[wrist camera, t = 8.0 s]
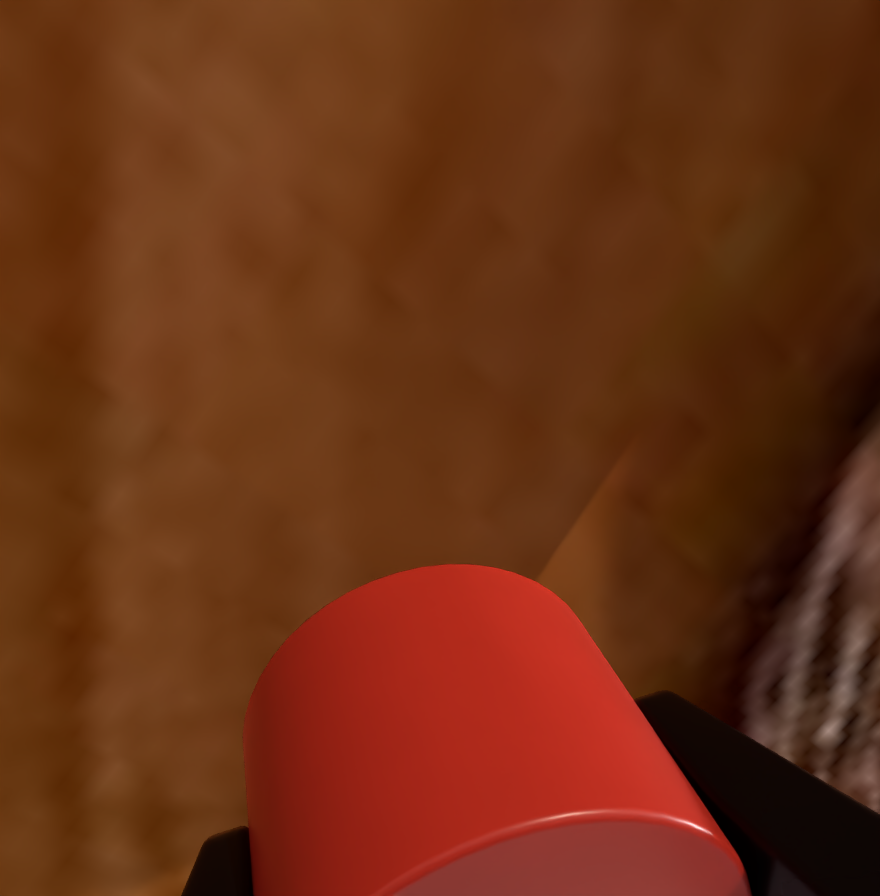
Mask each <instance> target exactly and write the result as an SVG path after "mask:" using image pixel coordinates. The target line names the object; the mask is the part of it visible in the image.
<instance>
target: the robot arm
mask: <svg viewBox="0 0 880 896" xmlns="http://www.w3.org/2000/svg"><path fill="white" fill-rule="evenodd" d="M634 702H635V703H636V705H637V706H638V707H639V709H640V710H641V712H642V713H643V715H644V716H645V718H646V719H647V721H648V722H649V724H650V725H651V727H652V728H653V730H654V731H655V733H656V734H657V736H658V737H659V739H660V740H661V742H662V743H663V745H664V746H665V748H666V749H667V750H668V752H669V753H670V755H671V756H672V758H673V759H674V761H675V762H676V764H677V765H678V767H679V768H680V770H681V771H682V773H683V774H684V776H685V777H686V779H687V780H688V782H689V783H690V785H691V786H692V788H693V789H694V790H695V792H696V793H697V795H698V796H699V798H700V799H701V801H702V802H703V804H704V805H705V807H706V808H707V810H708V811H709V813H710V814H711V816H712V817H713V819H714V820H715V822H716V823H717V825H718V826H719V828H720V829H721V831H722V832H723V833H724V835H725V836H726V838H727V839H728V841H729V842H730V844H731V845H732V847H733V848H734V850H735V851H736V853H737V854H738V856H739V858H740V860H741V862H742V864H743V866H744V868H745V870H746V872H747V876H748V880H749V884H750V888H751V893H752V896H880V814H878V813H876V812H875V811H873V810H871V809H869V808H868V807H866V806H864V805H863V804H861V803H859V802H858V801H856V800H854V799H853V798H851V797H849V796H848V795H846V794H844V793H842V792H841V791H839V790H837V789H836V788H834V787H832V786H831V785H829V784H827V783H826V782H824V781H822V780H820V779H819V778H817V777H815V776H814V775H812V774H810V773H809V772H807V771H805V770H804V769H802V768H800V767H799V766H797V765H795V764H793V763H792V762H790V761H788V760H787V759H785V758H783V757H782V756H780V755H778V754H777V753H775V752H773V751H771V750H770V749H768V748H766V747H765V746H763V745H761V744H760V743H758V742H756V741H755V740H753V739H751V738H749V737H748V736H746V735H744V734H743V733H741V732H739V731H738V730H736V729H734V728H733V727H731V726H729V725H728V724H726V723H724V722H722V721H721V720H719V719H717V718H716V717H714V716H712V715H711V714H709V713H707V712H706V711H704V710H702V709H700V708H699V707H697V706H695V705H694V704H692V703H690V702H689V701H687V700H685V699H684V698H682V697H680V696H679V695H677V694H675V693H673V692H671V691H667V690H662V691H658V692H655V693H652V694H649V695H645V696H642V697H639V698H636V699H635V700H634ZM181 896H253V884H252V869H251V854H250V840H249V828H248V827H246V826H240V827H237V828H234V829H231V830H228V831H225V832H221V833H218V834H215V835H213V836H211V837H209V838H208V839H207V840H206V841H205V842H204V843H203V845H202V847H201V850H200V852H199V854H198V857H197V859H196V862H195V864H194V866H193V869H192V871H191V874H190V876H189V878H188V881H187V883H186V886H185V888H184V890H183V893H182V895H181Z"/></svg>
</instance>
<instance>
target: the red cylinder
mask: <svg viewBox="0 0 880 896" xmlns="http://www.w3.org/2000/svg"><path fill="white" fill-rule="evenodd" d="M243 751H244V766H245V780H246V795H247V810H248V825H249V840H250V854H251V869H252V884H253V896H752V893H751V888H750V884H749V880H748V876H747V872H746V870H745V868H744V866H743V864H742V862H741V860H740V858H739V856H738V854H737V853H736V851H735V850H734V848H733V847H732V845H731V844H730V842H729V841H728V839H727V838H726V836H725V835H724V833H723V832H722V831H721V829H720V828H719V826H718V825H717V823H716V822H715V820H714V819H713V817H712V816H711V814H710V813H709V811H708V810H707V808H706V807H705V805H704V804H703V802H702V801H701V799H700V798H699V796H698V795H697V793H696V792H695V790H694V789H693V788H692V786H691V785H690V783H689V782H688V780H687V779H686V777H685V776H684V774H683V773H682V771H681V770H680V768H679V767H678V765H677V764H676V762H675V761H674V759H673V758H672V756H671V755H670V753H669V752H668V750H667V749H666V748H665V746H664V745H663V743H662V742H661V740H660V739H659V737H658V736H657V734H656V733H655V731H654V730H653V728H652V727H651V725H650V724H649V722H648V721H647V719H646V718H645V716H644V715H643V713H642V712H641V710H640V709H639V707H638V706H637V705H636V703H635V702H634V700H633V699H632V697H631V696H630V694H629V693H628V691H627V690H626V688H625V687H624V685H623V684H622V682H621V681H620V679H619V678H618V676H617V675H616V673H615V672H614V670H613V669H612V667H611V666H610V664H609V663H608V662H607V660H606V659H605V657H604V656H603V654H602V653H601V651H600V650H599V648H598V647H597V645H596V644H595V642H594V641H593V639H592V638H591V636H590V635H589V633H588V632H587V630H586V629H585V627H584V626H583V624H582V623H581V622H580V620H579V619H578V617H577V616H576V615H575V614H574V612H573V611H572V610H571V609H570V607H569V606H568V605H567V604H566V603H565V602H564V601H563V600H561V599H560V598H559V597H558V596H557V595H556V594H555V593H553V592H552V591H550V590H549V589H547V588H545V587H544V586H542V585H541V584H539V583H537V582H535V581H533V580H531V579H528V578H526V577H524V576H521V575H519V574H516V573H514V572H510V571H506V570H502V569H499V568H495V567H488V566H481V565H473V564H444V565H435V566H425V567H419V568H415V569H410V570H406V571H401V572H397V573H394V574H391V575H388V576H385V577H382V578H379V579H376V580H373V581H371V582H369V583H367V584H365V585H362V586H360V587H358V588H356V589H354V590H352V591H349V592H348V593H346V594H344V595H343V596H341V597H339V598H338V599H336V600H334V601H332V602H331V603H329V604H327V605H326V606H325V607H323V608H322V609H321V610H319V611H318V612H317V613H315V614H314V615H313V616H311V617H310V618H309V619H307V620H306V621H305V622H304V623H303V624H302V625H301V626H300V627H299V628H298V629H297V630H296V631H295V632H293V633H292V634H291V635H290V636H289V637H288V638H287V640H286V641H285V642H284V643H283V644H282V646H281V647H280V648H279V649H278V650H277V652H276V653H275V654H274V655H273V657H272V658H271V660H270V661H269V663H268V665H267V666H266V668H265V669H264V671H263V673H262V674H261V676H260V678H259V680H258V682H257V684H256V686H255V689H254V691H253V693H252V695H251V698H250V701H249V704H248V708H247V712H246V715H245V720H244V729H243Z"/></svg>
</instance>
